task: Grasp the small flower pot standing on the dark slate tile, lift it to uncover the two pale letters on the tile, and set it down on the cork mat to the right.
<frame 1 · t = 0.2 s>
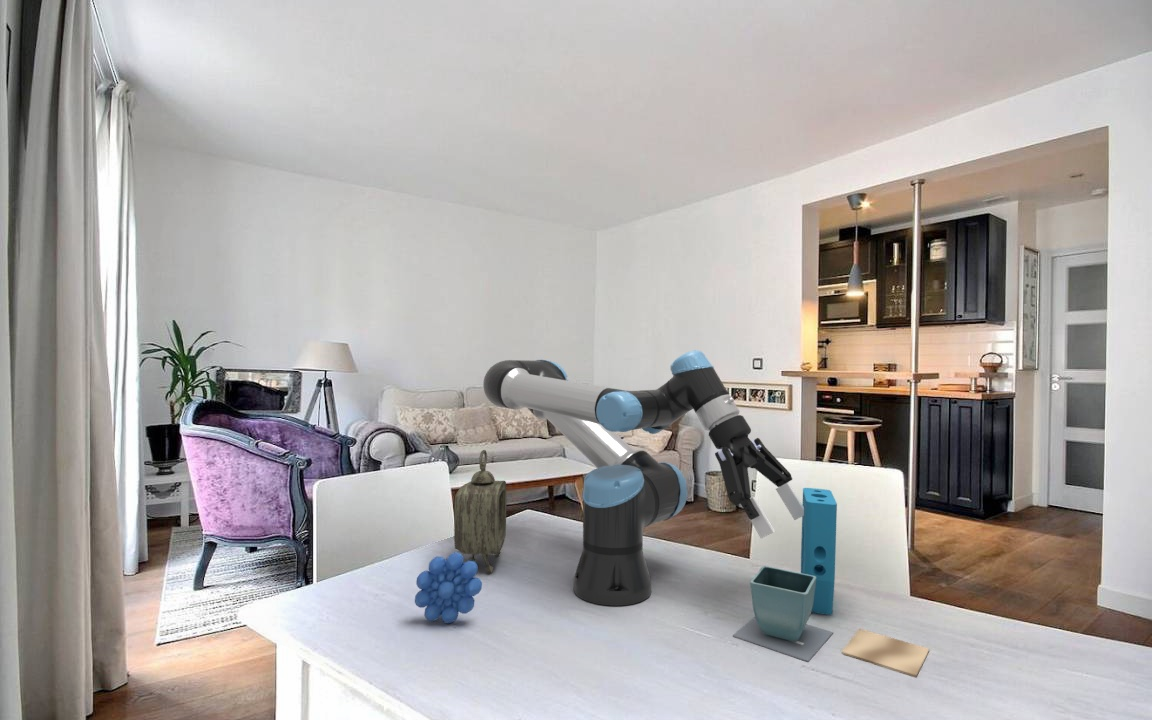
hand: (785, 525, 102), 15 cm above the table, tool tilted 35°, fingers open, 13 cm apart
flower pot: (783, 634, 93), resting on code tile
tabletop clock: (480, 565, 125), on the table
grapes: (449, 621, 98), on the table
code tile: (783, 634, 93), on the table
block: (815, 604, 105), on the table, touching gripper
cork mat: (885, 652, 88), on the table
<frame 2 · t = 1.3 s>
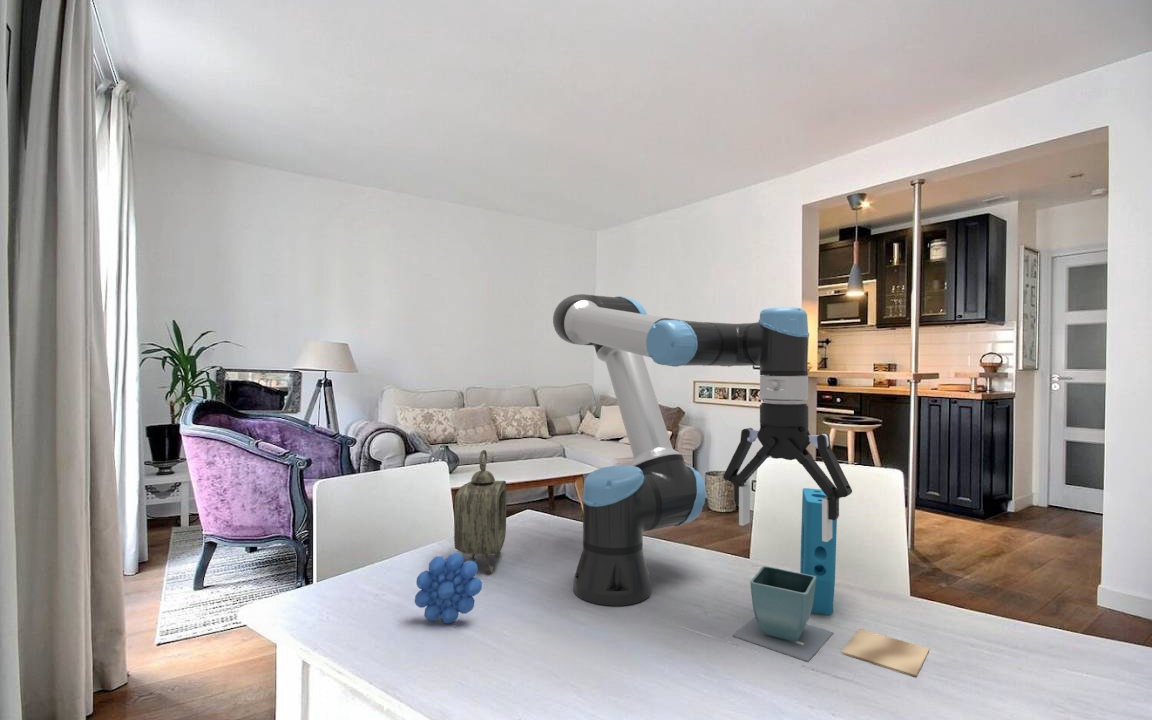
hand: (783, 531, 94), 17 cm above the table, tool pointing down, fingers open, 13 cm apart
block: (815, 604, 105), on the table
everything else where it was.
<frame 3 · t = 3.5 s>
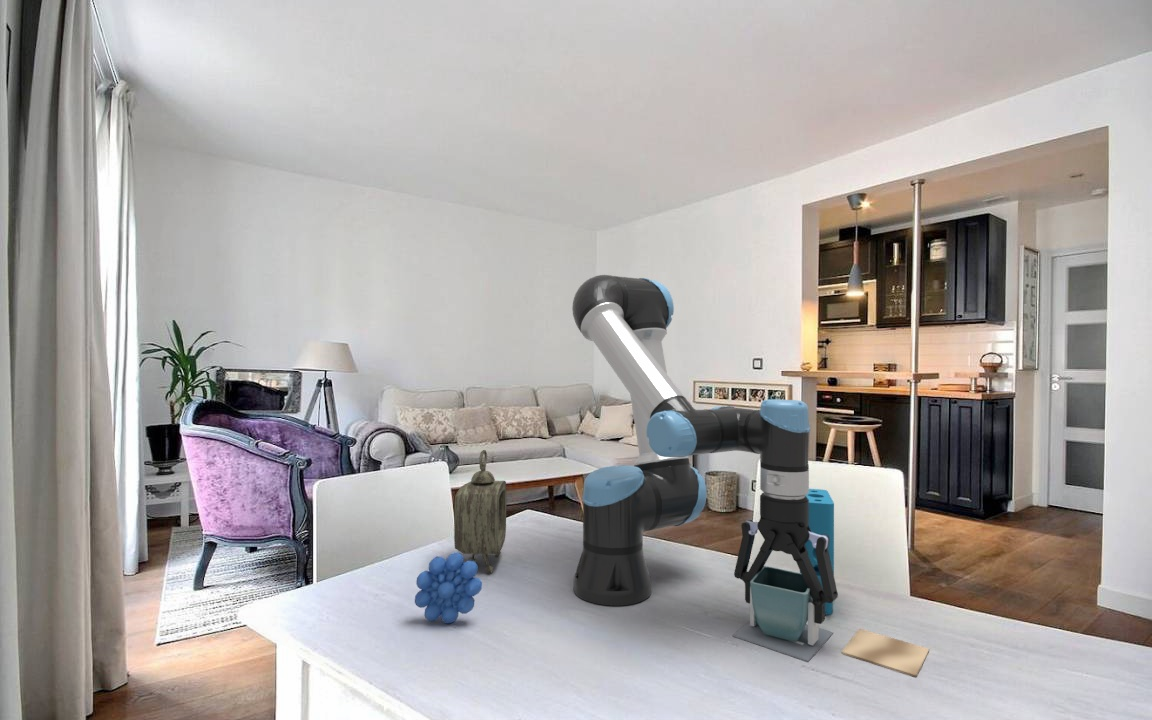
hand: (783, 632, 93), 0 cm above the table, tool pointing down, fingers closed on code tile, 9 cm apart
flower pot: (783, 634, 93), resting on code tile, touching gripper
everything else where it was.
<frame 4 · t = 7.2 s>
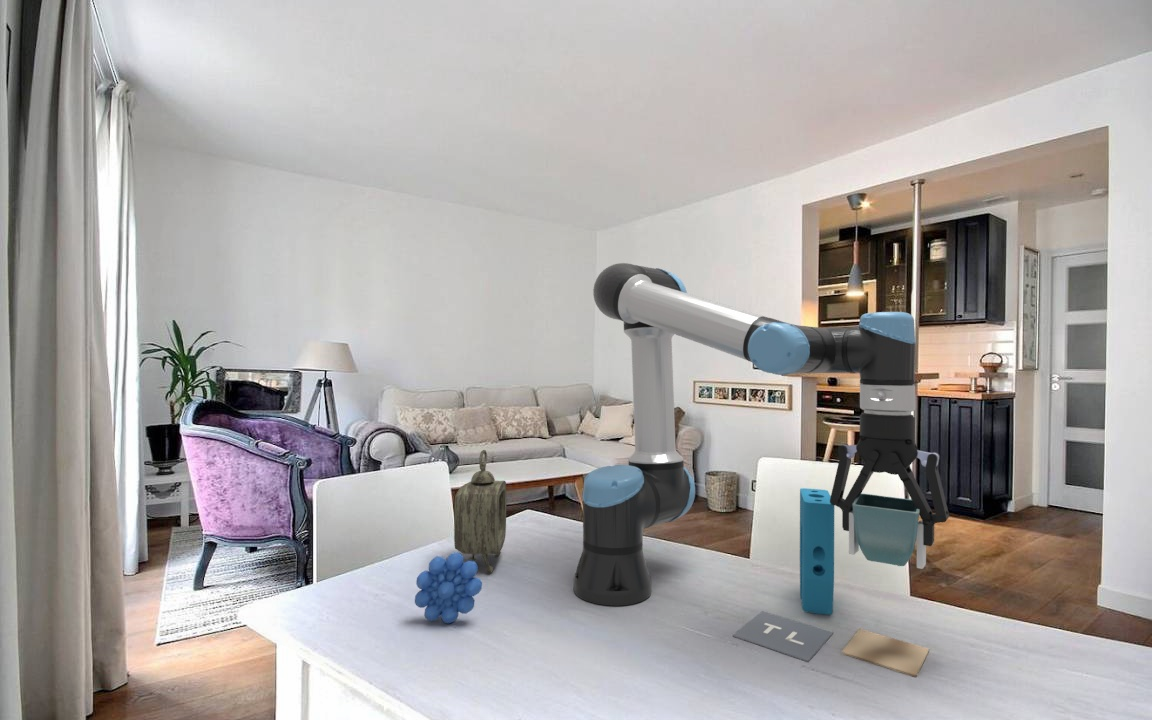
hand: (886, 558, 88), 14 cm above the table, tool pointing down, fingers closed on flower pot, 9 cm apart
flower pot: (886, 561, 88), point 14 cm above the table, touching gripper
everything else where it was.
when the fingers open (2 cm above the table, at t = 10.1 s): flower pot drops 2 cm, resting on cork mat.
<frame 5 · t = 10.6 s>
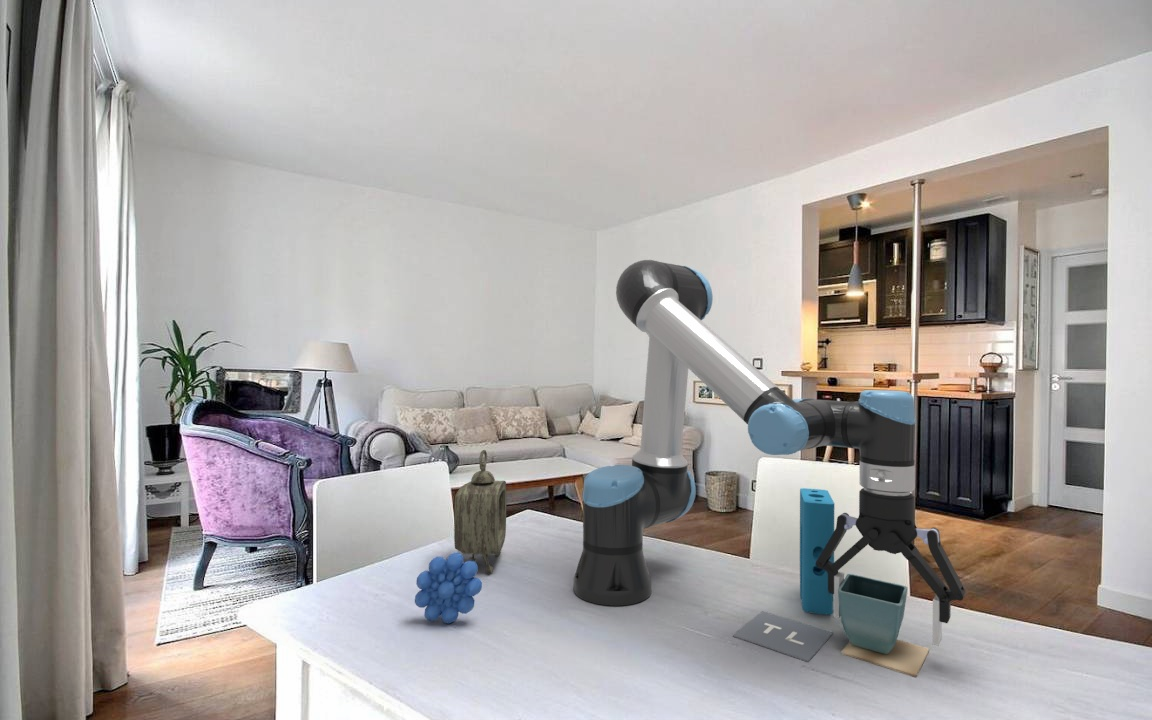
hand: (885, 628, 88), 4 cm above the table, tool pointing down, fingers open, 13 cm apart
flower pot: (871, 646, 90), resting on cork mat, touching gripper
everything else where it was.
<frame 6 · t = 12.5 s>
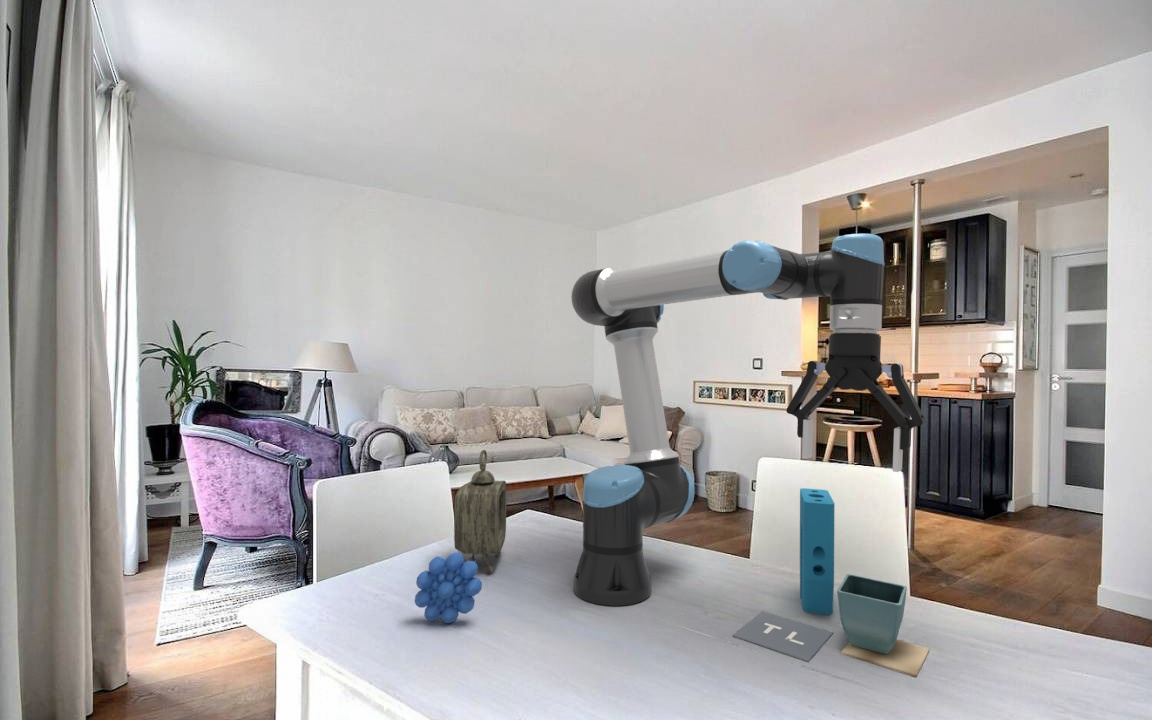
hand: (850, 463, 92), 28 cm above the table, tool pointing down, fingers open, 13 cm apart
flower pot: (871, 646, 90), resting on cork mat
everything else where it was.
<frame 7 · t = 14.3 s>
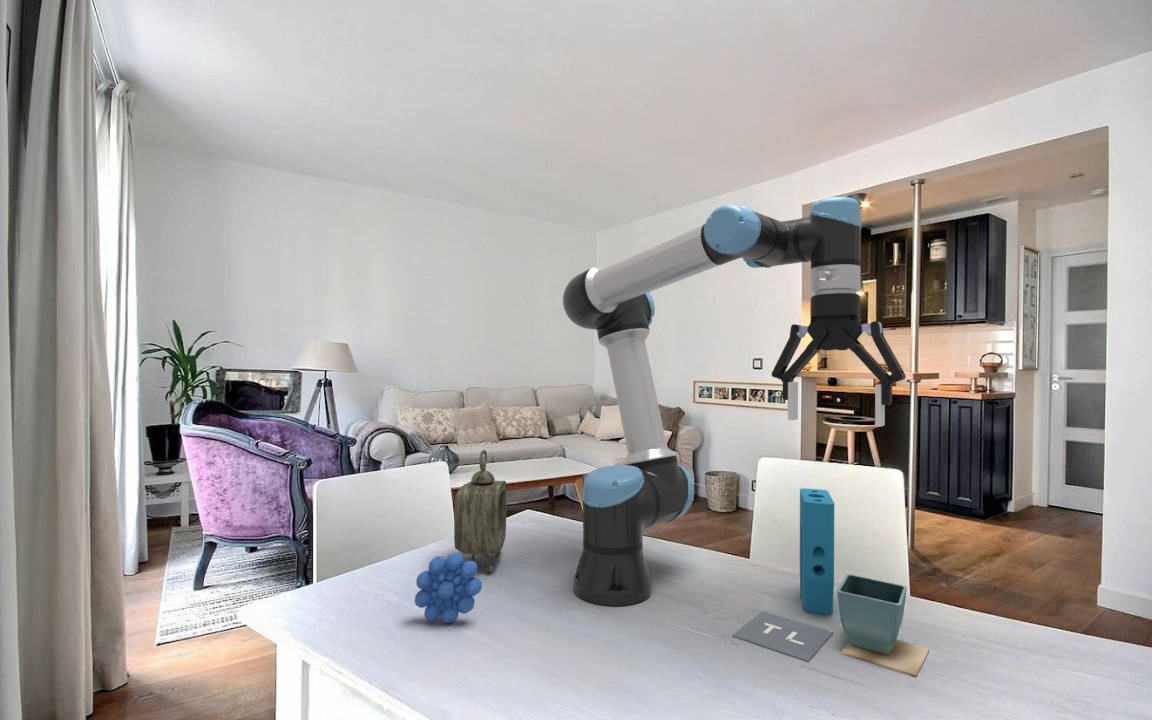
hand: (834, 422, 94), 35 cm above the table, tool pointing down, fingers open, 13 cm apart
nothing on the table moved.
at the end: flower pot inside the target area on the cork mat (2.0 cm from its centre), point 0.1 cm above the cork mat's base; flower pot tilted 0°; the gripper is holding nothing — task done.
